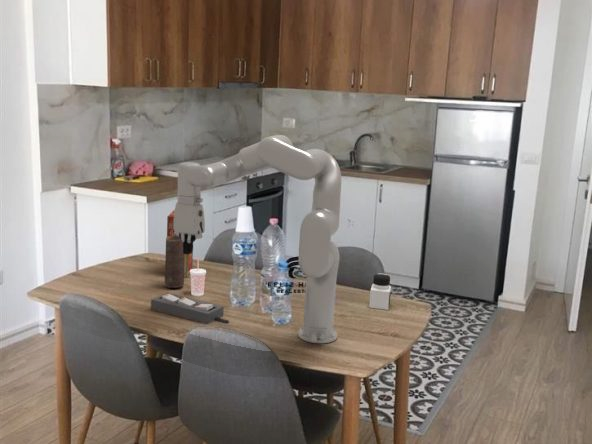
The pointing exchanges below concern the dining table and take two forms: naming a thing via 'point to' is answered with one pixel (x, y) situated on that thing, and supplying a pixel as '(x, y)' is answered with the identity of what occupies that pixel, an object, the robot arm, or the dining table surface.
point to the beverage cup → (197, 281)
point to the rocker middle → (186, 302)
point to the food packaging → (171, 232)
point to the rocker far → (170, 298)
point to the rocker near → (204, 306)
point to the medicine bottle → (380, 292)
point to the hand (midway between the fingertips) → (188, 253)
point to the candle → (174, 262)
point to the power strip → (188, 309)
